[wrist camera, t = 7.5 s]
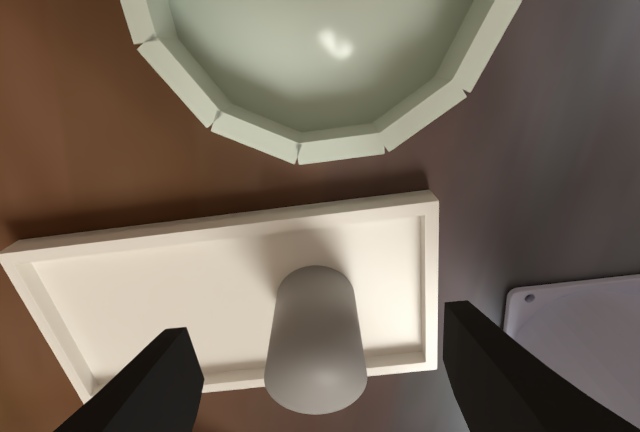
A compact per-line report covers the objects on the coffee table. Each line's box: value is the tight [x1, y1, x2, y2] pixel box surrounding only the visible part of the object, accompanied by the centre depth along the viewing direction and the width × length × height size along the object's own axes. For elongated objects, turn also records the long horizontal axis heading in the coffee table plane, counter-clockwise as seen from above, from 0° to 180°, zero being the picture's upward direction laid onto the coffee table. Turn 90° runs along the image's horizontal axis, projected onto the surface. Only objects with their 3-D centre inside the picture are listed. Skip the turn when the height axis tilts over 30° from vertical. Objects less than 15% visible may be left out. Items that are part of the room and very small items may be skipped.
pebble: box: [264, 265, 367, 414], centre depth 16 cm, size 4×4×5 cm
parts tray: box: [0, 189, 439, 404], centre depth 18 cm, size 20×10×1 cm, turn 97°
